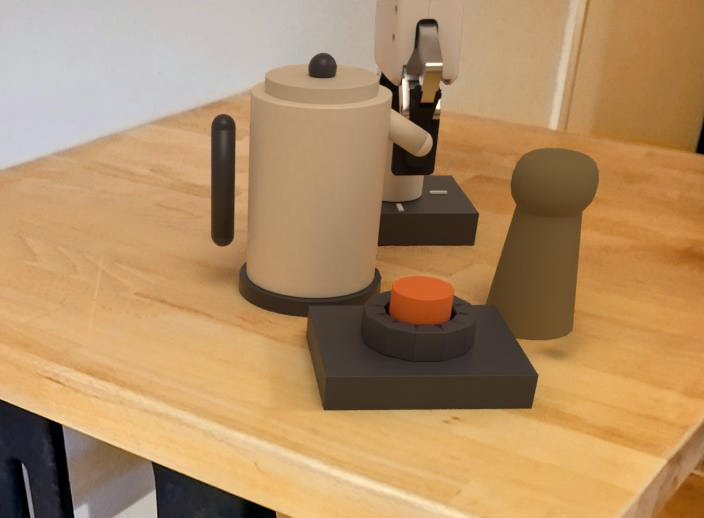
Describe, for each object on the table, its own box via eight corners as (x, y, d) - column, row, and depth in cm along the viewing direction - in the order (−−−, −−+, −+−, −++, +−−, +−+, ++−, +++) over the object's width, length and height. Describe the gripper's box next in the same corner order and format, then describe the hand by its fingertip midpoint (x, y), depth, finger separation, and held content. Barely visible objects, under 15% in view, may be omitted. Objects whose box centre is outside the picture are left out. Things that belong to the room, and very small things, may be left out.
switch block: (489, 336, 67) (499, 277, 64) (531, 409, 58) (545, 345, 56) (306, 337, 66) (309, 278, 64) (323, 411, 58) (328, 346, 56)
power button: (443, 303, 62) (447, 275, 61) (456, 328, 59) (460, 299, 58) (384, 303, 62) (387, 275, 60) (394, 328, 59) (397, 299, 58)
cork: (500, 344, 66) (532, 168, 59) (468, 307, 70) (494, 140, 64) (588, 338, 66) (630, 164, 60) (550, 302, 71) (585, 137, 65)
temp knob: (358, 183, 84) (364, 116, 81) (415, 183, 85) (423, 116, 81) (366, 202, 81) (372, 131, 77) (426, 202, 81) (435, 132, 78)
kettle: (401, 263, 77) (427, 38, 68) (427, 317, 69) (461, 70, 60) (209, 264, 76) (209, 37, 67) (212, 319, 68) (213, 69, 59)
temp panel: (447, 204, 88) (452, 173, 87) (474, 245, 80) (479, 211, 79) (309, 204, 88) (311, 173, 86) (322, 245, 80) (325, 211, 78)
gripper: (510, -90, 64) (472, 188, 74) (451, -108, 78) (426, 128, 88) (391, -89, 64) (369, 190, 74) (353, -107, 78) (339, 129, 88)
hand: (400, 156), depth 81 cm, fingers open, 9 cm apart
